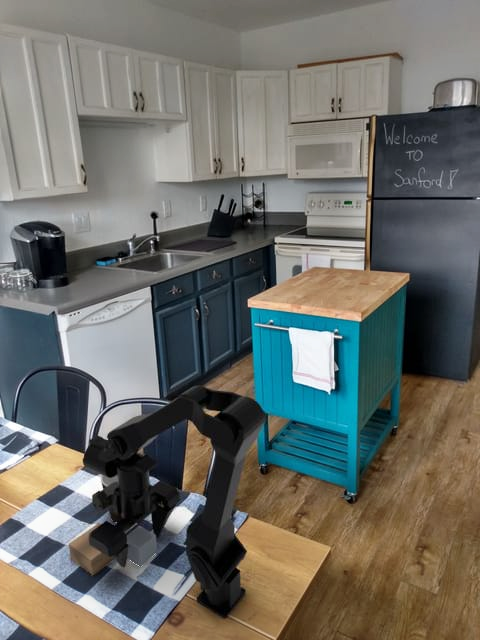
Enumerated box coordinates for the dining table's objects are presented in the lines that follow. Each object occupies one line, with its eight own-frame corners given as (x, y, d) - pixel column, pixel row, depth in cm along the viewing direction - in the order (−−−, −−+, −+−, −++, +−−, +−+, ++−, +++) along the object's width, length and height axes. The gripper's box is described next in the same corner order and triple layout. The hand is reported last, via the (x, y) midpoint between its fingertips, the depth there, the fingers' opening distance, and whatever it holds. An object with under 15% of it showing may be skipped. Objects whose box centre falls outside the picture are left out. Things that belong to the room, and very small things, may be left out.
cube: (157, 553, 97) (155, 534, 95) (140, 568, 93) (138, 549, 92) (140, 543, 99) (139, 525, 98) (124, 558, 95) (122, 539, 94)
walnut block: (122, 554, 96) (120, 538, 95) (93, 577, 91) (90, 560, 90) (100, 539, 101) (98, 523, 99) (71, 560, 95) (68, 543, 94)
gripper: (139, 447, 102) (145, 508, 107) (64, 495, 88) (74, 564, 93) (179, 464, 96) (183, 528, 101) (106, 518, 82) (114, 591, 87)
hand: (140, 550), depth 96 cm, fingers open, 9 cm apart
